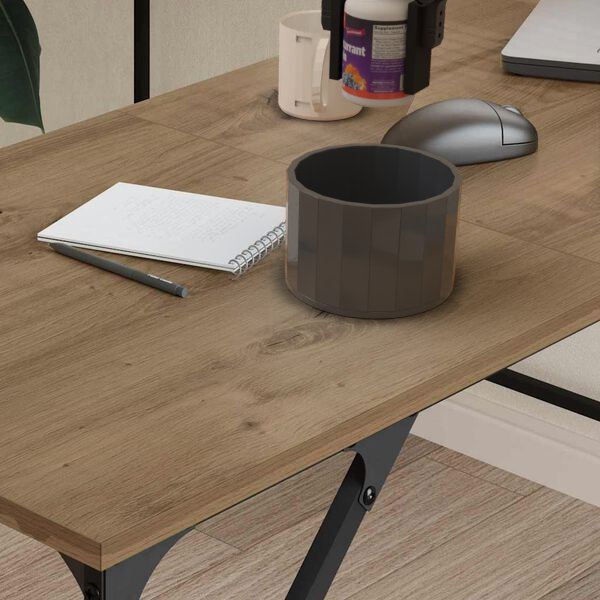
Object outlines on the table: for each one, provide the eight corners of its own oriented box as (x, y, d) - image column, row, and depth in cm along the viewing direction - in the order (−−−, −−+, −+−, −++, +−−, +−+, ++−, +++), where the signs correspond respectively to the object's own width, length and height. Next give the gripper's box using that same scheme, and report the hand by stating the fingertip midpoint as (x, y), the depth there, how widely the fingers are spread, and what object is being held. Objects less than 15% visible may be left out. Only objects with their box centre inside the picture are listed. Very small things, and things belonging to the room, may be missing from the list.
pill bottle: (332, 89, 100) (336, -42, 95) (400, 84, 101) (407, -45, 97) (354, 112, 95) (359, -25, 91) (425, 107, 96) (433, -28, 92)
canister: (406, 335, 97) (413, 221, 93) (253, 290, 103) (253, 182, 99) (480, 269, 107) (489, 164, 103) (337, 232, 113) (341, 132, 109)
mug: (291, 90, 147) (292, 7, 143) (370, 98, 145) (374, 14, 141) (259, 125, 137) (260, 36, 133) (345, 134, 135) (349, 44, 131)
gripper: (548, -257, 86) (516, 91, 96) (302, -272, 94) (297, 49, 105) (502, -249, 80) (473, 119, 90) (244, -266, 88) (245, 73, 99)
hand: (378, 81), depth 98 cm, fingers closed on pill bottle, 5 cm apart
